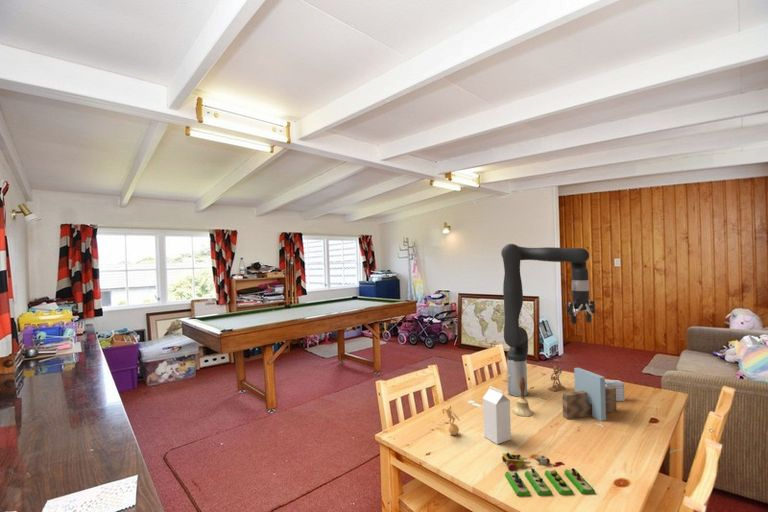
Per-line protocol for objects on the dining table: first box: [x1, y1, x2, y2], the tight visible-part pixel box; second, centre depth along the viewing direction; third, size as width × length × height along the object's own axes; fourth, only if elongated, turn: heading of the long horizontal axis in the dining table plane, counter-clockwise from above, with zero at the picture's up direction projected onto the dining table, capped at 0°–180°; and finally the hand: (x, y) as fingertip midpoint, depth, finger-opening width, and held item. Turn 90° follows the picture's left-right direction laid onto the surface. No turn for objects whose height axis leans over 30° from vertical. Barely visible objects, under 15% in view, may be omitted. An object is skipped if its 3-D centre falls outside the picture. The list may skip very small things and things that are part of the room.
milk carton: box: [482, 385, 512, 445], centre depth 141 cm, size 7×7×19 cm
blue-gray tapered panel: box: [573, 367, 607, 422], centre depth 160 cm, size 14×2×18 cm, turn 16°
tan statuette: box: [547, 365, 566, 393], centre depth 190 cm, size 9×4×12 cm, turn 120°
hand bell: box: [512, 376, 534, 417], centre depth 163 cm, size 8×8×16 cm
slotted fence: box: [562, 386, 617, 420], centre depth 160 cm, size 26×2×10 cm, turn 105°
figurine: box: [441, 404, 460, 436], centre depth 145 cm, size 8×6×12 cm
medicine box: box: [605, 379, 625, 402], centre depth 175 cm, size 8×4×9 cm, turn 84°
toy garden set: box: [501, 451, 596, 497], centre depth 117 cm, size 23×19×5 cm
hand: (581, 323), depth 178 cm, fingers open, 8 cm apart
